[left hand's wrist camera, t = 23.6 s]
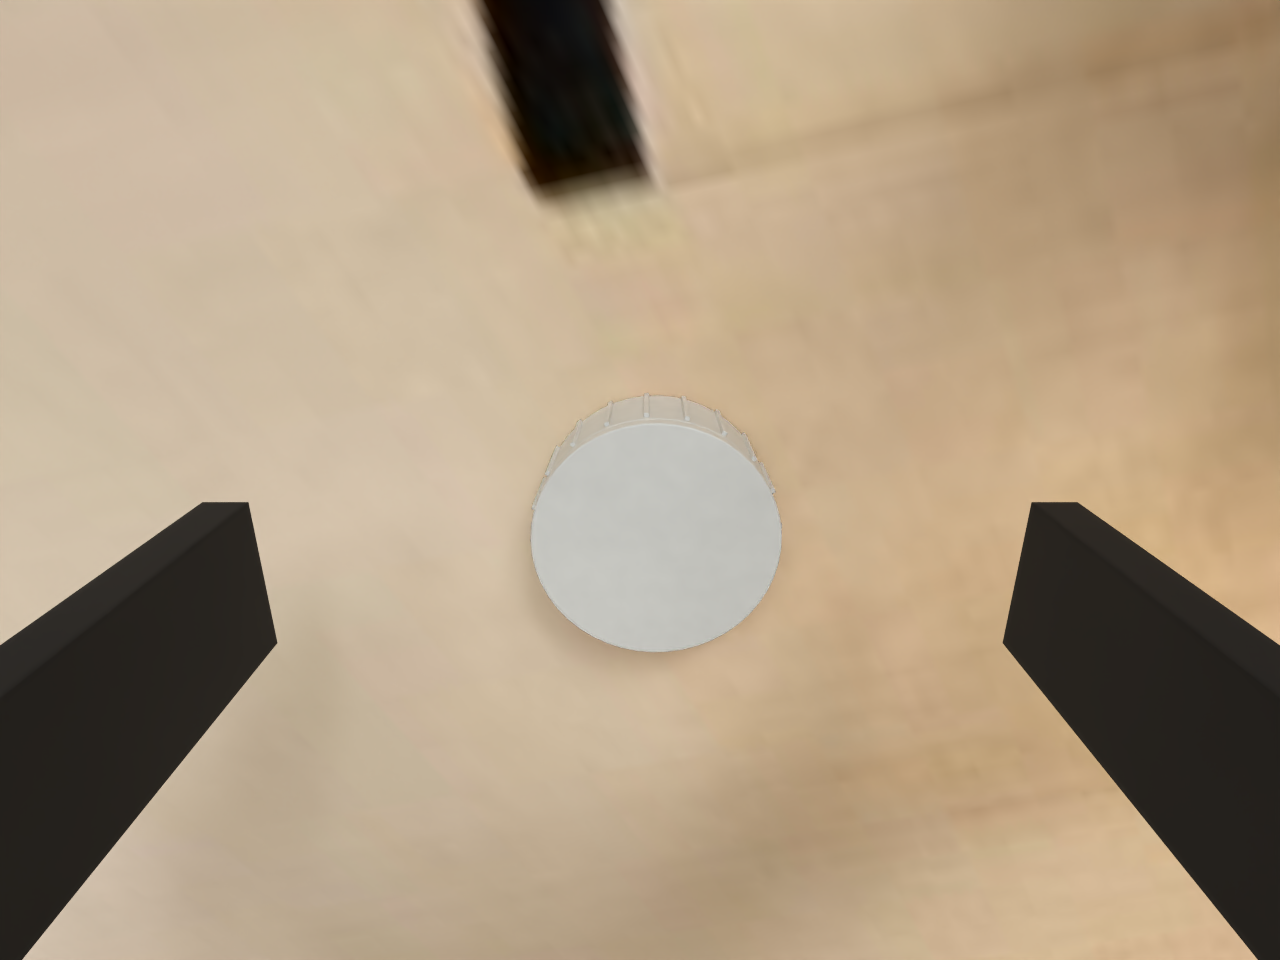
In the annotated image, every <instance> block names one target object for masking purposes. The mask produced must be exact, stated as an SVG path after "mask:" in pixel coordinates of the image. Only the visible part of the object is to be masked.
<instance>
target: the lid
mask: <svg viewBox="0 0 1280 960" xmlns="http://www.w3.org/2000/svg"><path fill="white" fill-rule="evenodd" d="M545 475H547V476H546V477H543V480H542V482H541V485H540V487H539V490H538V492H537V495H536V498H535V500H534V503H533V505H532V509H533V510H534V513H533V518H532V523H531V539H530V541H531V551H532V558H533V562H534V566H535V570H536V572H537V575H538V577H539V580H540V582H541V584H542V586H543V588H544V590H545V592H546V593H547V595H548V597H549V598H550V599H551V601H552V602H553V603H554V605H555V606H556V607H557V609H558V610H559V611H560V612H561V613H562V614H563V615H564V616H565V617H566V618H567V619H568V620H569V621H571V622H572V623H573V624H574V625H576V626H577V627H578V628H579V629H581V630H583V631H584V632H586V633H588V634H589V635H591V636H592V637H594V638H597V639H599V640H601V641H603V642H605V643H608V644H611V645H614V646H617V647H620V648H625V649H630V650H635V651H644V652H669V651H676V650H683V649H687V648H691V647H695V646H698V645H701V644H703V643H706V642H709V641H711V640H713V639H715V638H717V637H719V636H721V635H723V634H725V633H726V632H728V631H729V630H731V629H732V628H734V627H735V626H736V625H738V624H739V623H740V622H741V621H742V620H743V619H745V618H746V617H747V616H748V615H749V614H750V613H751V612H752V611H753V609H754V608H755V607H756V606H757V605H758V604H759V602H760V601H761V599H762V598H763V596H764V595H765V593H766V592H767V590H768V588H769V586H770V584H771V582H772V580H773V578H774V576H775V573H776V570H777V566H778V563H779V558H780V553H781V544H782V530H781V529H782V523H781V521H780V515H779V512H778V508H777V504H776V501H775V499H774V497H773V493H775V492H776V491H775V489H774V486H773V484H772V482H771V480H770V477H769V475H768V473H767V471H766V469H765V466H764V464H763V462H760V463H759V462H758V460H757V457H756V455H755V453H754V451H753V448H752V446H751V444H750V441H749V439H748V437H747V435H746V434H745V432H743V433H742V434H741V433H740V432H739V430H737V429H736V428H735V427H734V426H733V425H732V424H731V423H730V422H729V421H728V420H726V419H725V418H724V417H722V416H721V413H720V411H719V410H717V409H716V410H715V411H713V410H711V409H709V408H707V407H705V406H703V405H701V404H698V403H695V402H692V401H690V400H687V399H686V396H681V398H677V397H671V396H660V395H656V396H649V393H644V396H640V397H634V398H628V399H625V400H622V401H619V402H615V403H613V401H610V402H608V405H607V406H606V407H604V408H602V409H600V410H598V411H596V412H595V413H593V414H592V415H590V416H588V417H587V418H586V419H585V420H583V421H582V420H581V419H580V420H578V421H577V423H576V426H575V428H574V430H573V431H572V432H571V433H570V434H569V435H568V436H567V437H566V439H565V440H564V442H563V443H562V444H561V446H560V447H559V446H556V447H555V449H554V452H553V454H552V457H551V459H550V462H549V464H548V467H547V470H546V472H545Z"/></svg>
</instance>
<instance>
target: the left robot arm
mask: <svg viewBox="0 0 1280 960" xmlns="http://www.w3.org/2000/svg"><path fill="white" fill-rule="evenodd" d="M276 644H277V639H276V634H275V629H274V625H273V620H272V615H271V610H270V605H269V600H268V595H267V591H266V586H265V581H264V576H263V571H262V566H261V562H260V557H259V552H258V547H257V542H256V537H255V532H254V528H253V523H252V518H251V513H250V508H249V503H248V502H202V503H201V504H199V505H198V506H197V507H195V508H194V509H192V510H191V511H190V512H188V513H187V514H185V515H184V516H183V517H181V518H180V519H178V520H177V521H175V522H174V523H173V524H171V525H170V526H168V527H167V528H166V529H164V530H163V531H161V532H160V533H158V534H157V535H156V536H154V537H153V538H151V539H150V540H149V541H147V542H146V543H144V544H143V545H142V546H140V547H139V548H137V549H136V550H134V551H133V552H132V553H130V554H129V555H127V556H126V557H125V558H123V559H122V560H120V561H119V562H117V563H116V564H115V565H113V566H112V567H110V568H109V569H108V570H106V571H105V572H103V573H102V574H101V575H99V576H98V577H96V578H95V579H93V580H92V581H91V582H89V583H88V584H86V585H85V586H84V587H82V588H81V589H79V590H78V591H76V592H75V593H74V594H72V595H71V596H69V597H68V598H67V599H65V600H64V601H62V602H61V603H59V604H58V605H57V606H55V607H54V608H52V609H51V610H50V611H48V612H47V613H45V614H44V615H43V616H41V617H40V618H38V619H37V620H35V621H34V622H33V623H31V624H30V625H28V626H27V627H26V628H24V629H23V630H21V631H20V632H18V633H17V634H16V635H14V636H13V637H11V638H10V639H9V640H7V641H6V642H4V643H3V644H2V645H0V960H22V959H23V958H24V957H25V955H26V954H27V953H28V952H29V950H30V949H31V948H32V947H33V945H34V944H35V943H36V942H37V940H38V939H39V938H40V937H41V936H42V934H43V933H44V932H45V931H46V929H47V928H48V927H49V926H50V924H51V923H52V922H53V921H54V919H55V918H56V917H57V916H58V914H59V913H60V912H61V911H62V909H63V908H64V907H65V906H66V904H67V903H68V902H69V901H70V900H71V898H72V897H73V896H74V895H75V893H76V892H77V891H78V890H79V888H80V887H81V886H82V885H83V883H84V882H85V881H86V880H87V878H88V877H89V876H90V875H91V873H92V872H93V871H94V870H95V869H96V867H97V866H98V865H99V864H100V862H101V861H102V860H103V859H104V857H105V856H106V855H107V854H108V852H109V851H110V850H111V849H112V847H113V846H114V845H115V844H116V842H117V841H118V840H119V839H120V837H121V836H122V835H123V834H124V833H125V831H126V830H127V829H128V828H129V826H130V825H131V824H132V823H133V821H134V820H135V819H136V818H137V816H138V815H139V814H140V813H141V811H142V810H143V809H144V808H145V806H146V805H147V804H148V803H149V802H150V800H151V799H152V798H153V797H154V795H155V794H156V793H157V792H158V790H159V789H160V788H161V787H162V785H163V784H164V783H165V782H166V780H167V779H168V778H169V777H170V775H171V774H172V773H173V772H174V770H175V769H176V768H177V767H178V766H179V764H180V763H181V762H182V761H183V759H184V758H185V757H186V756H187V754H188V753H189V752H190V751H191V749H192V748H193V747H194V746H195V744H196V743H197V742H198V741H199V739H200V738H201V737H202V736H203V735H204V733H205V732H206V731H207V730H208V728H209V727H210V726H211V725H212V723H213V722H214V721H215V720H216V718H217V717H218V716H219V715H220V713H221V712H222V711H223V710H224V708H225V707H226V706H227V705H228V703H229V702H230V701H231V700H232V699H233V697H234V696H235V695H236V694H237V692H238V691H239V690H240V689H241V687H242V686H243V685H244V684H245V682H246V681H247V680H248V679H249V677H250V676H251V675H252V674H253V672H254V671H255V670H256V669H257V668H258V666H259V665H260V664H261V663H262V661H263V660H264V659H265V658H266V656H267V655H268V654H269V653H270V651H271V650H272V649H273V648H274V646H275V645H276ZM1003 644H1004V645H1005V646H1006V648H1007V649H1008V650H1009V651H1010V653H1011V654H1012V655H1013V656H1014V658H1015V659H1016V660H1017V661H1018V663H1019V664H1020V665H1021V666H1022V668H1023V669H1024V670H1025V671H1026V672H1027V674H1028V675H1029V676H1030V677H1031V679H1032V680H1033V681H1034V682H1035V684H1036V685H1037V686H1038V687H1039V689H1040V690H1041V691H1042V692H1043V694H1044V695H1045V696H1046V697H1047V699H1048V700H1049V701H1050V702H1051V704H1052V705H1053V706H1054V707H1055V708H1056V710H1057V711H1058V712H1059V713H1060V715H1061V716H1062V717H1063V718H1064V720H1065V721H1066V722H1067V723H1068V725H1069V726H1070V727H1071V728H1072V730H1073V731H1074V732H1075V733H1076V735H1077V736H1078V737H1079V738H1080V739H1081V741H1082V742H1083V743H1084V744H1085V746H1086V747H1087V748H1088V749H1089V751H1090V752H1091V753H1092V754H1093V756H1094V757H1095V758H1096V759H1097V761H1098V762H1099V763H1100V764H1101V766H1102V767H1103V768H1104V769H1105V770H1106V772H1107V773H1108V774H1109V775H1110V777H1111V778H1112V779H1113V780H1114V782H1115V783H1116V784H1117V785H1118V787H1119V788H1120V789H1121V790H1122V792H1123V793H1124V794H1125V795H1126V797H1127V798H1128V799H1129V800H1130V802H1131V803H1132V804H1133V805H1134V806H1135V808H1136V809H1137V810H1138V811H1139V813H1140V814H1141V815H1142V816H1143V818H1144V819H1145V820H1146V821H1147V823H1148V824H1149V825H1150V826H1151V828H1152V829H1153V830H1154V831H1155V833H1156V834H1157V835H1158V836H1159V837H1160V839H1161V840H1162V841H1163V842H1164V844H1165V845H1166V846H1167V847H1168V849H1169V850H1170V851H1171V852H1172V854H1173V855H1174V856H1175V857H1176V859H1177V860H1178V861H1179V862H1180V864H1181V865H1182V866H1183V867H1184V869H1185V870H1186V871H1187V872H1188V873H1189V875H1190V876H1191V877H1192V878H1193V880H1194V881H1195V882H1196V883H1197V885H1198V886H1199V887H1200V888H1201V890H1202V891H1203V892H1204V893H1205V895H1206V896H1207V897H1208V898H1209V900H1210V901H1211V902H1212V903H1213V904H1214V906H1215V907H1216V908H1217V909H1218V911H1219V912H1220V913H1221V914H1222V916H1223V917H1224V918H1225V919H1226V921H1227V922H1228V923H1229V924H1230V926H1231V927H1232V928H1233V929H1234V931H1235V932H1236V933H1237V934H1238V936H1239V937H1240V938H1241V939H1242V940H1243V942H1244V943H1245V944H1246V945H1247V947H1248V948H1249V949H1250V950H1251V952H1252V953H1253V954H1254V955H1255V957H1256V958H1257V959H1258V960H1280V645H1278V644H1277V643H1276V642H1274V641H1273V640H1271V639H1270V638H1269V637H1267V636H1266V635H1264V634H1263V633H1262V632H1260V631H1259V630H1257V629H1256V628H1254V627H1253V626H1252V625H1250V624H1249V623H1247V622H1246V621H1245V620H1243V619H1242V618H1240V617H1239V616H1237V615H1236V614H1235V613H1233V612H1232V611H1230V610H1229V609H1228V608H1226V607H1225V606H1223V605H1222V604H1221V603H1219V602H1218V601H1216V600H1215V599H1213V598H1212V597H1211V596H1209V595H1208V594H1206V593H1205V592H1204V591H1202V590H1201V589H1199V588H1198V587H1196V586H1195V585H1194V584H1192V583H1191V582H1189V581H1188V580H1187V579H1185V578H1184V577H1182V576H1181V575H1179V574H1178V573H1177V572H1175V571H1174V570H1172V569H1171V568H1170V567H1168V566H1167V565H1165V564H1164V563H1163V562H1161V561H1160V560H1158V559H1157V558H1155V557H1154V556H1153V555H1151V554H1150V553H1148V552H1147V551H1146V550H1144V549H1143V548H1141V547H1140V546H1138V545H1137V544H1136V543H1134V542H1133V541H1131V540H1130V539H1129V538H1127V537H1126V536H1124V535H1123V534H1122V533H1120V532H1119V531H1117V530H1116V529H1114V528H1113V527H1112V526H1110V525H1109V524H1107V523H1106V522H1105V521H1103V520H1102V519H1100V518H1099V517H1097V516H1096V515H1095V514H1093V513H1092V512H1090V511H1089V510H1088V509H1086V508H1085V507H1083V506H1082V505H1081V504H1079V503H1078V502H1032V503H1031V508H1030V513H1029V518H1028V523H1027V528H1026V532H1025V537H1024V542H1023V547H1022V552H1021V557H1020V562H1019V566H1018V571H1017V576H1016V581H1015V586H1014V591H1013V595H1012V600H1011V605H1010V610H1009V615H1008V620H1007V625H1006V629H1005V634H1004V639H1003Z"/></svg>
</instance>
